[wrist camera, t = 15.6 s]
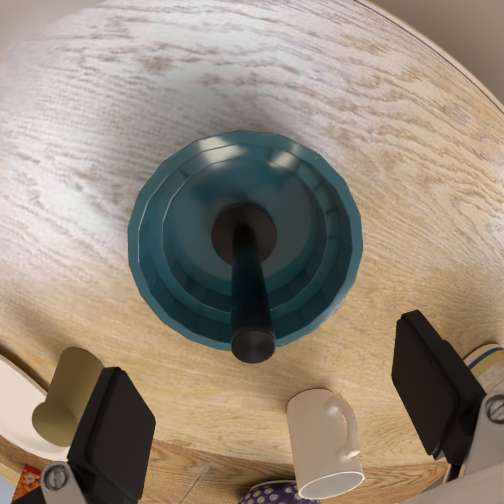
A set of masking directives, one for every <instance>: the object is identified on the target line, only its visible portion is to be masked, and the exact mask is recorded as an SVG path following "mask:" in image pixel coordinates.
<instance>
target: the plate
mask: <svg viewBox="0 0 504 504" xmlns="http://www.w3.org/2000/svg"><path fill="white" fill-rule="evenodd" d="M46 396H47V392H46V391H45V390H44V389H43V388H41V387H40V386H39V385H38V384H37V383H36V382H35V381H34V380H33V379H32V378H30V377H29V376H28V375H27V374H26V373H25V372H24V371H22V370H21V369H20V368H18V367H17V366H16V365H15V364H13V363H12V362H11V361H9V360H8V359H7V358H5V357H4V356H2V355H1V354H0V435H2V436H3V437H4V438H6V439H7V440H9V441H10V442H12V443H13V444H15V445H16V446H18V447H20V448H22V449H24V450H26V451H28V452H30V453H32V454H34V455H37V456H40V457H42V458H46V459H49V460H54V461H68V459H67V458H66V457H67V454H68V451H69V449H70V446H69V447H59V446H56V445H54V444H51V443H50V442H48V441H46V440H45V439H43V438H42V437H41V436H40V435H39V434H38V433H37V432H36V430H35V429H34V427H33V425H32V414H33V411H34V409H35V407H36V406H37V405H38V404H40V403H42V402H45V399H46Z"/></svg>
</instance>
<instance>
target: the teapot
mask: <svg viewBox="0 0 504 504" xmlns="http://www.w3.org/2000/svg"><path fill="white" fill-rule="evenodd" d="M238 504H321V503H320V500H319V499H305V498H302V497H300V496H299V494H298V487H297V482H296V481H294V480H275V481H268V482H263V483H260V484H257V485H255V486H253V487H252V488H251V489H250V491H249V492H248V493H246V494H244V495H243V496H242V498H241V499H240V500H239V502H238Z"/></svg>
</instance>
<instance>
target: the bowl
mask: <svg viewBox="0 0 504 504" xmlns="http://www.w3.org/2000/svg"><path fill="white" fill-rule="evenodd" d="M240 202H248V203H253V204H256V205H259V206H260V207H262V208H263V209H265V210H266V211H267V212H268V213H269V214H270V216H271V217H272V219H273V222H274V224H275V226H276V230H277V242H276V246H275V248H274V250H273V252H272V254H271V255H270V256H269V257H268V258H267V259H266V260H265V261H263V262H262V263H261V264H262V269H263V275H264V280H265V285H266V290H267V296H268V301H269V306H270V312H271V317H272V322H273V328H274V333H275V339H276V347H281V346H284V345H287V344H289V343H291V342H293V341H295V340H297V339H299V338H301V337H303V336H305V335H307V334H309V333H311V332H313V331H314V330H315V329H317V328H318V327H319V326H320V325H321V324H322V323H323V322H324V321H326V320H327V319H328V318H329V317H330V316H331V315H332V314H333V313H334V312H336V311H337V309H338V308H339V307H340V305H341V303H342V302H343V300H344V299H345V297H346V295H347V294H348V292H349V291H350V289H351V287H352V286H353V284H354V282H355V280H356V276H357V272H358V268H359V264H360V260H361V256H362V252H363V240H362V227H361V216H360V213H359V210H358V208H357V206H356V204H355V201H354V199H353V197H352V195H351V192H350V190H349V188H348V186H347V184H346V182H345V181H344V179H343V178H342V177H341V176H340V175H339V174H338V173H337V172H336V171H335V170H334V169H333V168H332V167H331V166H330V165H329V164H328V163H327V162H326V160H325V159H324V158H323V157H322V156H321V155H320V154H318V153H317V152H315V151H313V150H311V149H309V148H307V147H305V146H303V145H301V144H299V143H297V142H295V141H293V140H291V139H289V138H286V137H284V136H281V135H277V134H269V133H260V132H251V131H241V130H240V131H233V132H229V133H224V134H220V135H216V136H211V137H207V138H203V139H199V140H196V141H195V142H193V143H192V144H190V145H188V146H187V147H185V148H184V149H182V150H180V151H179V152H177V153H176V154H174V155H173V156H171V157H170V158H168V159H167V160H165V161H164V162H163V163H161V165H160V166H159V167H158V168H157V170H156V171H155V172H154V174H153V175H152V176H151V178H150V179H149V180H148V181H147V183H146V184H145V185H144V187H143V188H142V189H141V191H140V192H139V194H138V197H137V200H136V203H135V206H134V209H133V212H132V215H131V219H130V222H129V225H128V230H127V232H128V259H129V267H130V269H131V272H132V275H133V277H134V280H135V282H136V285H137V287H138V290H139V292H140V295H141V296H142V298H143V299H144V300H145V301H146V303H147V304H148V305H149V306H150V308H151V309H152V310H153V311H154V313H155V314H156V315H157V316H158V317H159V319H160V320H161V321H162V322H163V323H165V324H166V325H168V326H169V327H171V328H172V329H174V330H175V331H177V332H178V333H179V334H181V335H182V336H184V337H185V338H187V339H189V340H191V341H194V342H197V343H200V344H202V345H205V346H208V347H211V348H215V349H218V350H224V351H231V284H232V265H230V264H228V263H226V262H225V261H223V260H222V259H221V258H220V257H219V256H218V255H217V253H216V252H215V250H214V248H213V245H212V239H211V234H212V229H213V224H214V222H215V219H216V218H217V216H218V215H219V213H220V212H221V211H222V210H224V209H225V208H226V207H228V206H230V205H232V204H235V203H240Z"/></svg>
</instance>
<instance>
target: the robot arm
mask: <svg viewBox="0 0 504 504" xmlns="http://www.w3.org/2000/svg"><path fill="white" fill-rule="evenodd" d="M391 376H392V381H393V384H394V386H395V388H396V390H397V392H398V394H399V396H400V398H401V400H402V402H403V404H404V406H405V408H406V410H407V412H408V414H409V416H410V418H411V420H412V423H413V425H414V427H415V429H416V431H417V433H418V435H419V437H420V440H421V442H422V444H423V446H424V448H425V451H426V453H427V454H428V455H433V457H434V460H435V461H436V460H438V459H440V458H442V457H446V459H447V461H448V463H449V467H448V469H447V472H446V475H445V478H444V480H443V483H442V485H441V486H438V487H436V488H434V489H431V490H429V491H427V492H424V493H422V494H419V495H417V496H414V497H411V498H409V499H406V500H403V501H400V502H397V503H395V504H504V390H496V391H493V392H491V393H489V394H488V395H487V393H486V392H485V390H484V389H483V387H482V386H481V385H480V383H479V382H478V380H477V379H476V378H475V376H474V375H473V373H472V372H471V371H470V369H469V368H468V367H467V365H466V364H465V363H464V361H463V360H462V359H461V357H460V356H459V355H458V353H457V352H456V351H455V350H454V348H453V347H452V346H451V344H450V343H449V342H448V341H446V340H443V339H442V338H441V337H440V335H439V334H438V333H437V332H436V330H435V329H434V328H433V327H432V325H431V324H430V323H429V322H428V320H427V319H426V318H425V317H424V315H423V314H422V313H421V312H420V311H419V310H414V311H411V312H407V313H404V314H402V316H401V319H399V320H398V321H397V326H396V338H395V348H394V357H393V366H392V374H391ZM155 425H156V421H155V417H154V415H153V414H152V412H151V411H150V409H149V408H148V406H147V405H146V403H145V402H144V400H143V399H142V397H141V396H140V394H139V392H138V391H137V389H136V388H135V386H134V385H133V383H132V381H131V380H130V378H129V376H128V375H127V373H126V372H125V371H124V370H121V368H119V367H107V368H103V369H102V371H101V373H100V375H99V378H98V380H97V382H96V384H95V387H94V389H93V391H92V394H91V396H90V398H89V401H88V403H87V406H86V408H85V410H84V413H83V415H82V418H81V420H80V423H79V425H78V428H77V430H76V433H75V435H74V438H73V441H72V443H71V446H70V449H69V451H68V454H67V457H66V458H67V459H68V461H67V463H65V462H63V461H53V462H50V463H49V464H48V465H46V466H45V467H44V469H43V470H42V472H41V474H40V486H38V487H37V488H35V489H33V490H31V491H30V492H28V493H26V494H25V495H23V496H21V497H19V498H17V499H16V500H14V501H13V502H12V503H11V504H137V503H138V500H140V499H141V498H142V493H143V488H144V482H145V476H146V471H147V466H148V460H149V455H150V450H151V445H152V440H153V435H154V430H155Z"/></svg>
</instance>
